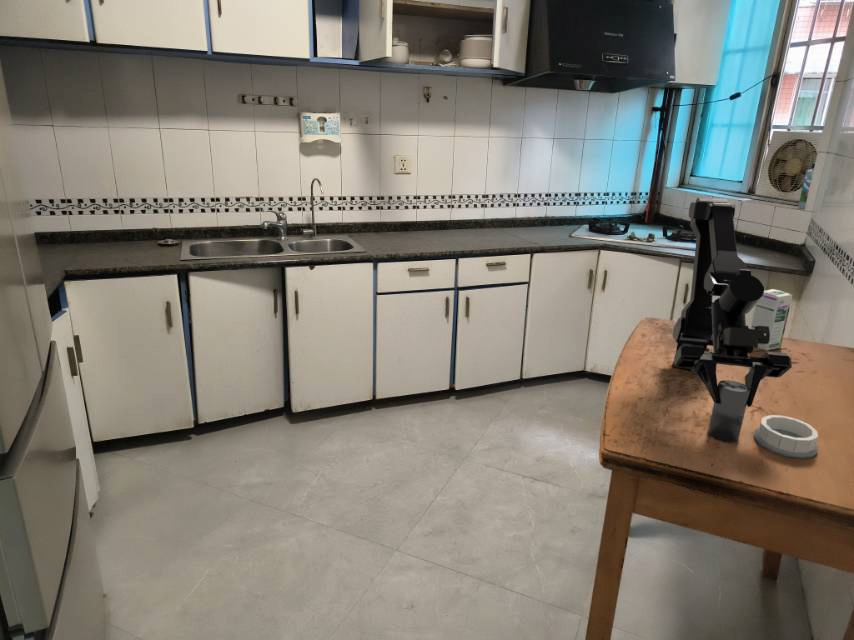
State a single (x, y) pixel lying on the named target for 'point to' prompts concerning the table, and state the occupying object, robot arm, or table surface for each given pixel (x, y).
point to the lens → (729, 411)
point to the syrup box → (772, 316)
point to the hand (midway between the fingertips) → (732, 404)
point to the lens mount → (787, 436)
